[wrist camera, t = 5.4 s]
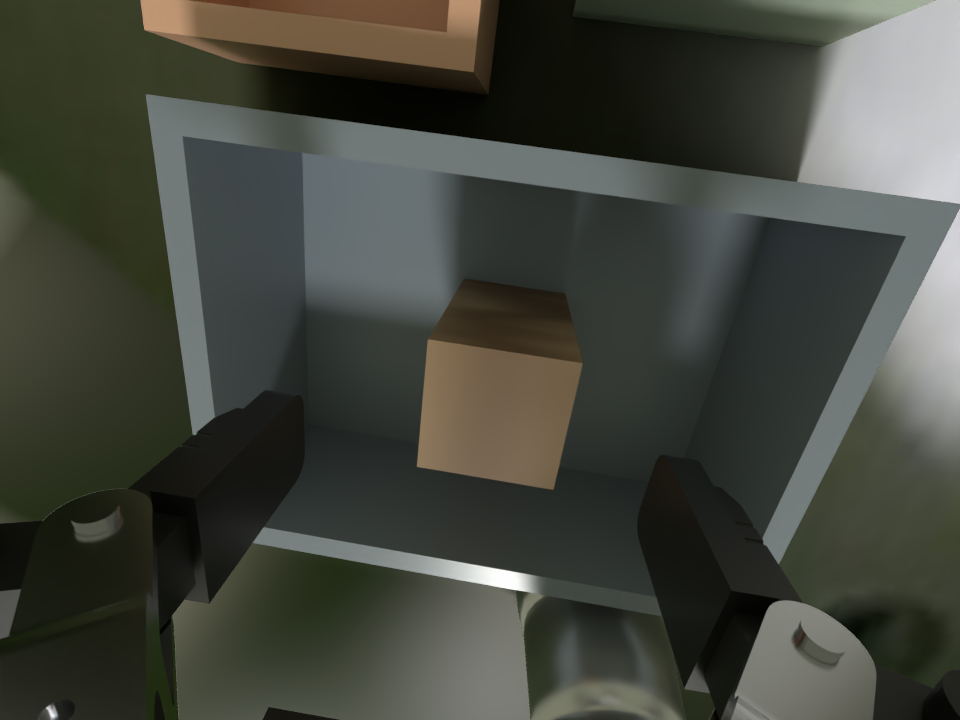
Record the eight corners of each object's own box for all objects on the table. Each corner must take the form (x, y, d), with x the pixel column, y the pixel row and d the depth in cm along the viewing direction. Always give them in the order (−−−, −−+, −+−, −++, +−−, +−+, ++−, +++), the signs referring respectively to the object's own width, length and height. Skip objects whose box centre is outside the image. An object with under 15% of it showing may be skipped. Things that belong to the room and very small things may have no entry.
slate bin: (796, 188, 17) (961, 203, 10) (682, 494, 22) (744, 631, 16) (288, 119, 17) (145, 94, 11) (298, 430, 23) (206, 534, 16)
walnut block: (565, 293, 18) (582, 363, 12) (546, 384, 20) (553, 489, 13) (464, 278, 18) (427, 339, 12) (454, 369, 20) (416, 466, 14)
